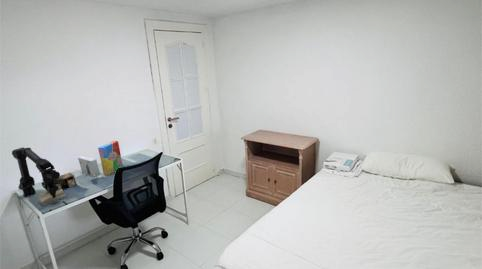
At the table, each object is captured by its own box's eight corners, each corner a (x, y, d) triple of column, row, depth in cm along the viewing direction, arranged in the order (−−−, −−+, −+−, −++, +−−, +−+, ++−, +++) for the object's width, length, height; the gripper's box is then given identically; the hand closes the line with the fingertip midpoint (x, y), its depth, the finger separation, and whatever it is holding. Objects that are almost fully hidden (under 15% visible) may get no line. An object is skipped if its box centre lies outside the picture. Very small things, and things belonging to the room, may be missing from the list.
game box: (108, 175, 227) (102, 147, 219) (103, 175, 228) (97, 147, 220) (123, 166, 246) (118, 140, 238) (118, 166, 247) (113, 140, 239)
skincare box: (81, 172, 235) (77, 157, 230) (86, 170, 239) (83, 155, 235) (94, 176, 225) (91, 160, 221) (100, 174, 230) (96, 158, 225)
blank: (64, 196, 192) (62, 189, 190) (42, 204, 182) (39, 196, 180) (62, 194, 195) (60, 187, 193) (40, 202, 185) (38, 195, 183)
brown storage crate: (54, 192, 199) (51, 182, 196) (50, 189, 204) (47, 179, 202) (76, 185, 211) (73, 175, 208) (72, 182, 216) (70, 172, 213)
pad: (42, 205, 181) (42, 205, 181) (39, 202, 185) (39, 202, 185) (67, 196, 193) (67, 195, 193) (64, 193, 197) (64, 193, 197)
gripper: (64, 176, 184) (69, 195, 188) (56, 170, 195) (61, 188, 200) (46, 182, 176) (51, 201, 180) (38, 175, 187) (44, 193, 191)
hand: (52, 195), depth 188 cm, fingers open, 9 cm apart
